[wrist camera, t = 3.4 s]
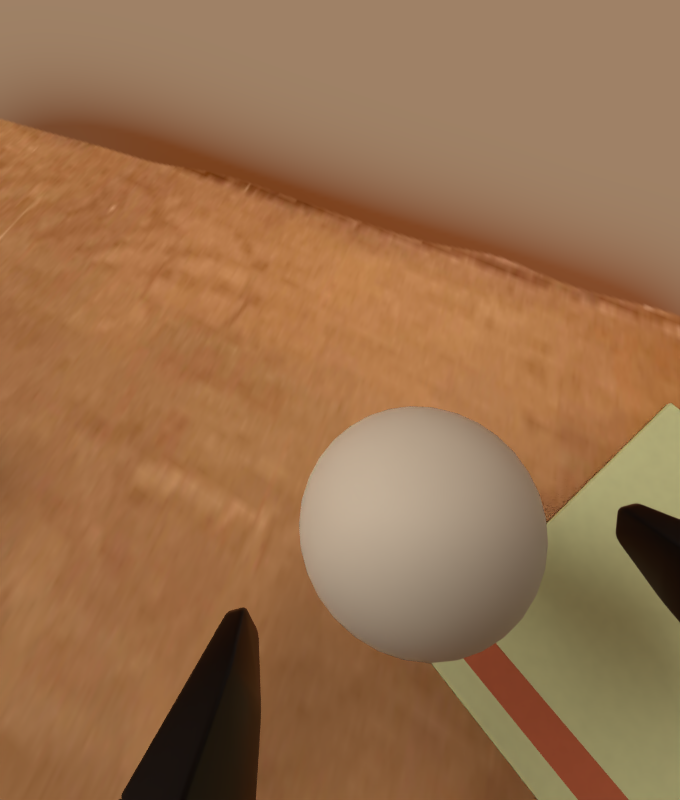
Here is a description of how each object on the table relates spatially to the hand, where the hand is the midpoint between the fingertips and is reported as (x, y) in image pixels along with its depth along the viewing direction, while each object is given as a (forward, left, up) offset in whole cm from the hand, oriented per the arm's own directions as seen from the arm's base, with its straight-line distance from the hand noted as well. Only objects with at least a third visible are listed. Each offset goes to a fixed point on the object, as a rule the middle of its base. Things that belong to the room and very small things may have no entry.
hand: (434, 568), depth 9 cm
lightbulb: (+1, 0, -9) cm, 9 cm away
